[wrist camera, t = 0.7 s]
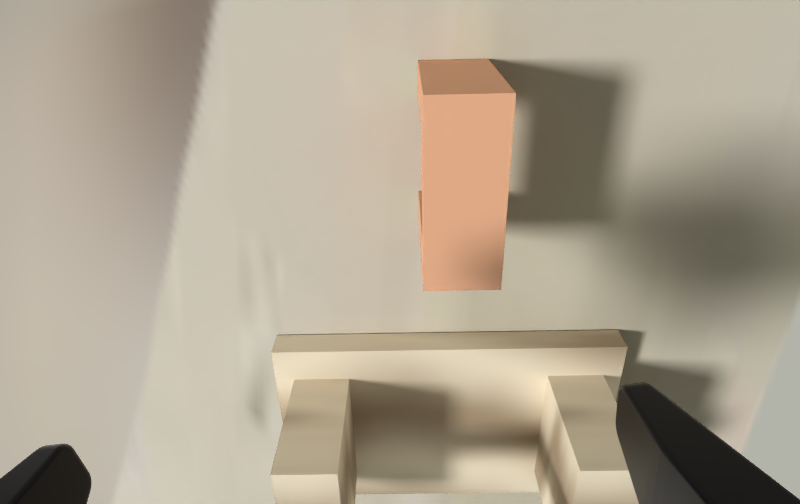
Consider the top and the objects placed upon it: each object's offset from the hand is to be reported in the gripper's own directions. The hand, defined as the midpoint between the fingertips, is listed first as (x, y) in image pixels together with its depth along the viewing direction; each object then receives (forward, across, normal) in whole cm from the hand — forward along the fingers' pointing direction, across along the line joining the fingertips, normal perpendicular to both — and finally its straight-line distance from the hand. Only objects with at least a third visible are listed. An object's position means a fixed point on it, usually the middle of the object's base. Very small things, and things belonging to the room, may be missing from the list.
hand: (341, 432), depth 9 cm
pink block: (+13, -3, 0) cm, 14 cm away
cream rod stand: (+13, -2, +13) cm, 18 cm away
